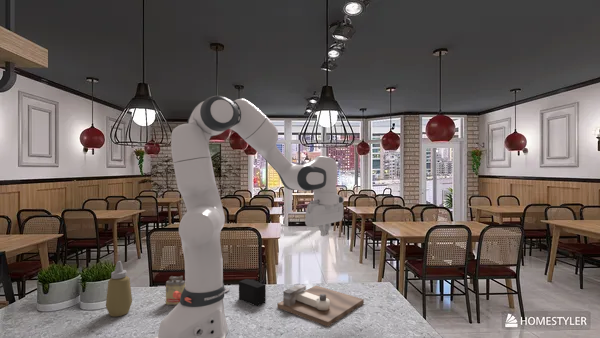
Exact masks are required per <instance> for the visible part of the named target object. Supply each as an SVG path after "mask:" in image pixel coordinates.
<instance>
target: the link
mask: <svg viewBox="0 0 600 338" xmlns="http://www.w3.org/2000/svg"><path fill="white" fill-rule="evenodd" d="M295 300H297V301H300V302H302V303H305V304H308V305H310V306H313V307H315V308H317V309H318V310H323V311H324V310H328V309H329V308H330V300H329V299H327V298H326V300H325V301H321V300H320V297H319V296H316V295H314V294H311V293H308V292H305V290H304V291H302V292H300V293H298V294H296V295H295Z"/></svg>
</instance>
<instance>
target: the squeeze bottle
mask: <svg viewBox="0 0 600 338" xmlns="http://www.w3.org/2000/svg"><path fill="white" fill-rule="evenodd" d="M127 274H128V273H127V270H126V269H124V268H123V264H122V261H121V260H118V261H116V265H115V269H114V271H112V272H111V276H110V278H109V280H108V283H107V290H106V291H107V292H106V299H105V300H106V301H105V307H106V310H107V312H108V315H109V316H110V317H112V318H114V317H117V318H118V317H122V316H125V315H127V314H128V313H129V311H130V309H131V306H132V303H133V296H132V288H131V280H130V279H131V278H130V277H129V276H127Z"/></svg>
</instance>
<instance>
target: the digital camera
mask: <svg viewBox="0 0 600 338" xmlns="http://www.w3.org/2000/svg"><path fill="white" fill-rule="evenodd" d="M266 285H267V284H265V283H262V282H259V281H256V279H254V278H253V279H249V278H245V279H242V280H239V281H238V300H240V301H242V302H245V303H247V304H250V305H252V306H256V307H260V306H262V305H264V304H266V300H267V299H266V298H267V297H266V292H267V291H266V290H267V289H266Z"/></svg>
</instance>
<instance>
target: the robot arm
mask: <svg viewBox="0 0 600 338" xmlns="http://www.w3.org/2000/svg"><path fill="white" fill-rule="evenodd" d="M227 130H232V131H234V132H235V133H237V134H238V136H240V138H242V139H243V140H244V142H246V143H247V144H248V145H249V146H250V147H251V148H253V149H254V151H256V152H257V153H258V154H259V155H261V157H262V158H263V159H264V160H265V161H266V162H267V164H269V166H271V168H272V169H273V170H274V171H275V172H276V173H277V175H278V176H279V179H280V181H281V183H282V185H283V187H285V188H286V189H288V190H290V191H302V192H303V191H304V192H311V191H313V200H310V201H309V203H308V204H307V207H306V210H305V216H304V217H305V219H304V223H305V226H307V227H309V228H310V227H312V228H314V227H315V228H316V227H318V229H319V231H320V236H321V237H326V236H329V234H330V229H331V227H332V224H334V223H337V222H338V223H339V222H341V221H343V219H344V202H345V197H344V196H341V195H339V194H338V188H337V182H338V164H337V162H336V159H334V158H333V157H331V156H327V155H317V156H316V157H315V158H314V159H312V160H311V161H309V162H307V163H304V164H297V163H293V162H291V161H290V160H289V159H288V158H287V157H286V156H285V155H284V154H283V153H282V152H281V150H280V149H279V148H278V146H277V142H278V139H279V132H278V129H277V127H276V125H275V124H274V123H273V121H272V120H271V119H270V118H269V117H268V116H267V115H266V114H265V113H264V112H262V111H261V110H260V109H259V107H257V106H256V105H254V103H252V102H251V101H249V100H247V99H245V98H238V99H235V100H232V99H229V98H227V97H225V96H222V95H214V96H210V97H208V98H205V100H204V101H201V102H199V103H198V104H197V105H196V106H195V107H194V108H193V109H192V110H191V112H190V113H189V116H188V118H187V121H186V123H183V124H179V125H177V126H176V127H174V128H173V130H172V132H171V134H170V135H171V136H170V145H171V158H172V164H173V168H174V169H173V170H174V173H175V174H174V175H175V180H176V181H175V182H176V186H177V190H178V192H179V193H180V195H181V197H182V200H183V203H184V206H185V209H186V212H185V213H184V214H183V216H182V217H181V220H180V222H179V225H178V234H179V237H180V241H181V246H182V247H181V248H182V252H183V253H182V254H183V258H184V281H185V288H184V290H183V292H182V294H181V292H178V291H175V292H174V293H173V295H172V296H173V298H176V299H180V302H179V303H178V304H177V305H175V307H174V308H173V309H172V310H171V311H170V312H169V313H168V314H167V315H166V316H165V317H164V318H163V319H162V320H161V322H160V323H159V328H158V333H157V336H154V338H226V336H227V334H228V333H229V325H228V322H227V319H226V318H227V317H226V313H225V304H224V303H225V302H224V298H225V293H224V287H225V283H224V276H223V275H224V273H223V272H224V270H223V269H224V267H223V264H224V263H223V262H224V261H223V260H224V259H223V256H222V255H223V254H222V247H221V246H222V245H221V232H222V229H223V228H224V226H225V222H226V216H225V212H224V208H223V203H222V200H221V197H220V193H219V189H218V186H217V182H216V177H215V172H214V167H213V162H212V161H213V160H212V155H211V151H210V139H211V138H212V137H214V136H218V135H221V134H222V133H224V132H226V131H227Z"/></svg>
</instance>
